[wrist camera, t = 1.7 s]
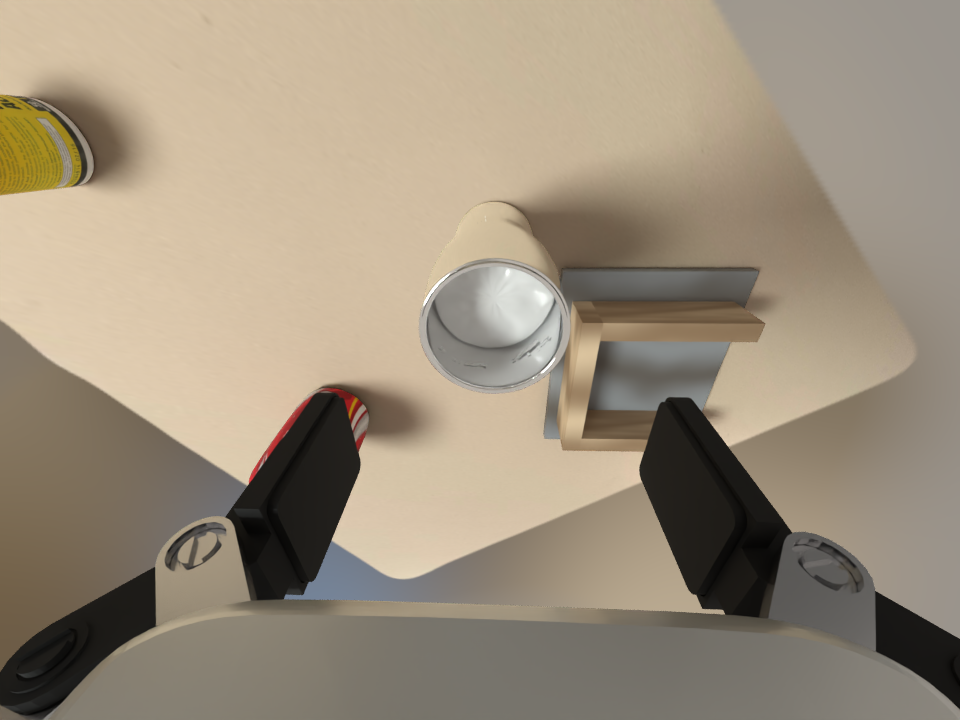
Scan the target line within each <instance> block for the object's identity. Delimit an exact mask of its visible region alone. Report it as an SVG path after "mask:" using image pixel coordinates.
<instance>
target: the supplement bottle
mask: <svg viewBox="0 0 960 720" xmlns="http://www.w3.org/2000/svg"><path fill="white" fill-rule="evenodd" d="M93 170H94V161H93V156H92V152H91V150H90V147H89V145H88V143H87V141H86V140H85V138H84V136H83V135H82V133H81V132H80V131H79V129H78V128H77V127H76V126H75V125H74V123H73V122H72V121H71V120H70V119H69V118H68V117H67V116H65V115H64V114H63V113H62V112H60V111H59V110H58V109H56V108H55V107H53V106H51V105H49V104H47V103H45V102H43V101H40V100H37V99H34V98H29V97H22V96H10V95H0V195H8V194H17V193H25V192H34V191H42V190H50V189H59V188H67V187H75V186H79V185H82V184H84V183H86V182H87V181H88V180H89V179H90V177H91V176H92V173H93Z"/></svg>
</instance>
